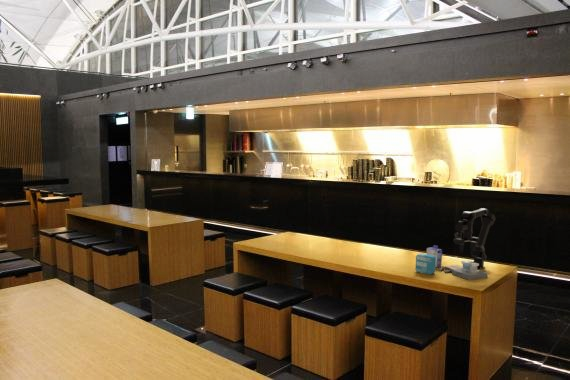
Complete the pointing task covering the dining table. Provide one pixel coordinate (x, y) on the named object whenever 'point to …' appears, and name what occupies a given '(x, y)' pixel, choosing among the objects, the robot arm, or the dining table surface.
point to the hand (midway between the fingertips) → (466, 252)
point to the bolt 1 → (442, 268)
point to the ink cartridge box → (436, 253)
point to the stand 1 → (453, 267)
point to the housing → (470, 266)
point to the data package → (425, 263)
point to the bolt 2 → (448, 271)
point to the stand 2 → (469, 274)
